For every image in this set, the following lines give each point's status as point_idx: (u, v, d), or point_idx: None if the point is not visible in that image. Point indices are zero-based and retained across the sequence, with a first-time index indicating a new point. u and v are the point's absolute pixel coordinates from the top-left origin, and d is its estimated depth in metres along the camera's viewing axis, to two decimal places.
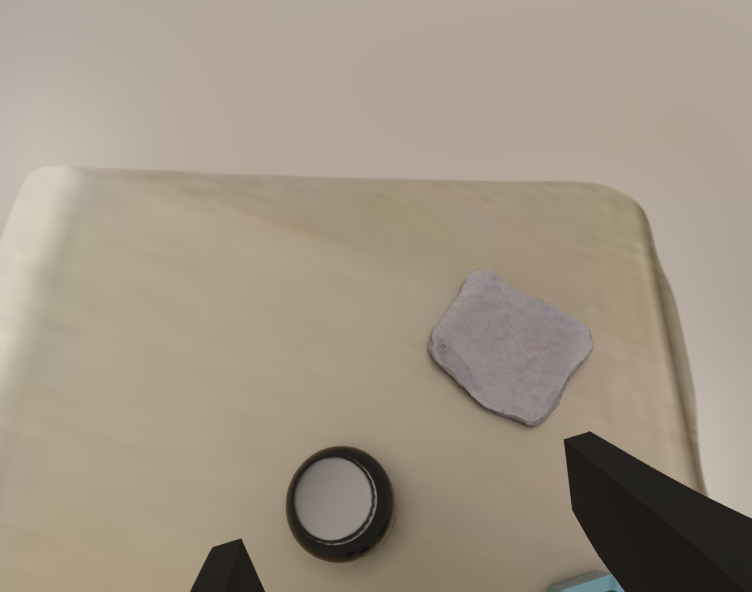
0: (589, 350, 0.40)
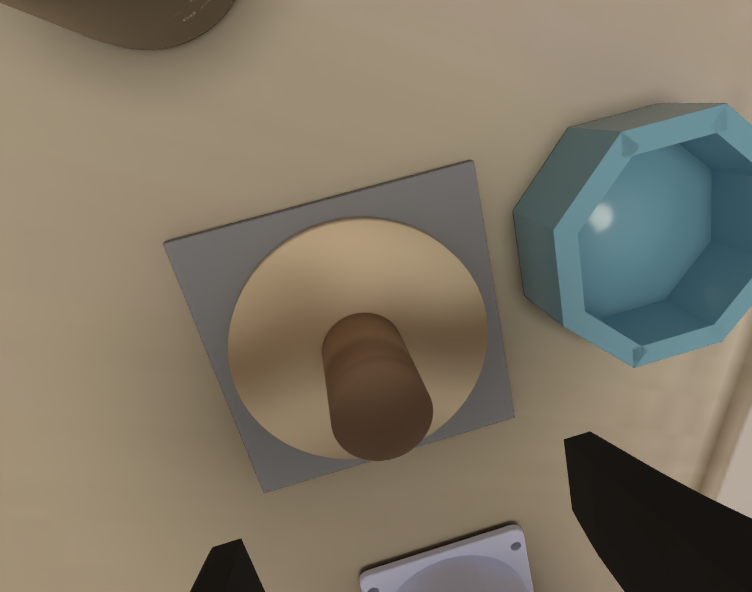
0: None
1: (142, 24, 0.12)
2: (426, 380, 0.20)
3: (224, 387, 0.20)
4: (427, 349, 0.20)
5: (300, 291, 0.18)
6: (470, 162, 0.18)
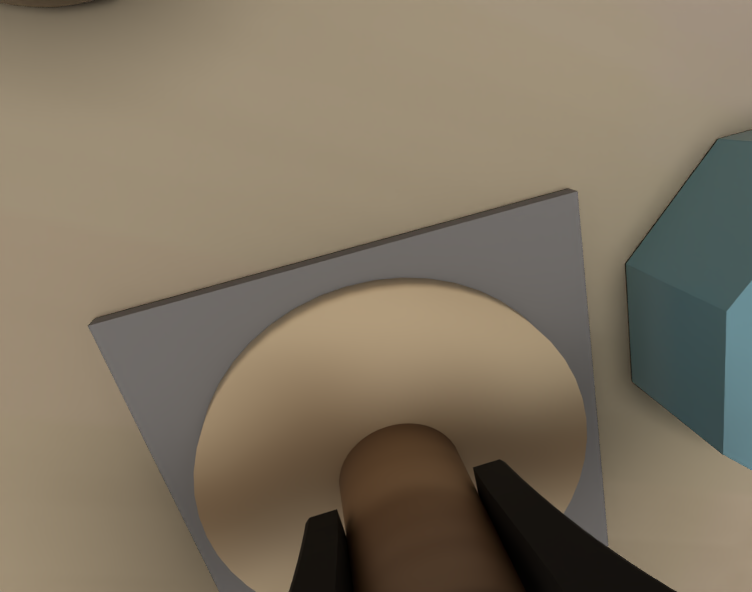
0: None
1: None
2: None
3: (192, 527, 0.13)
4: None
5: (306, 396, 0.11)
6: (572, 193, 0.12)
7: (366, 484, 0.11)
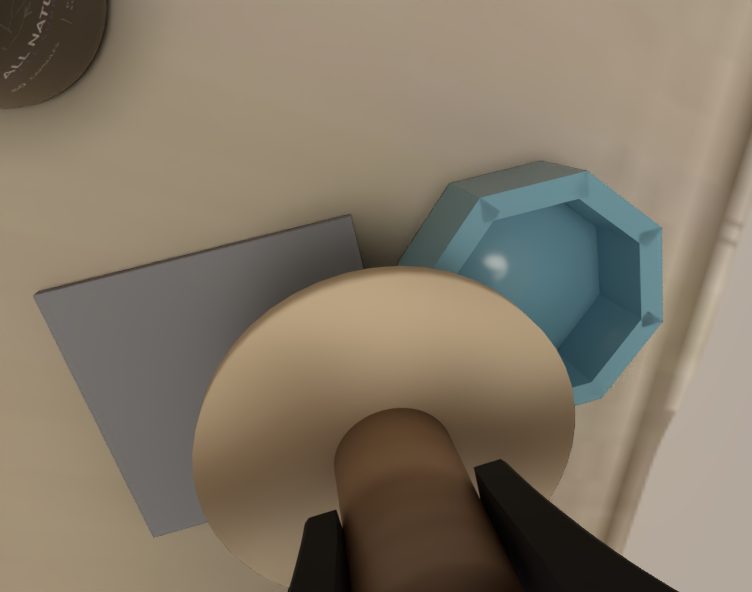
0: None
1: None
2: None
3: (105, 435, 0.20)
4: (487, 454, 0.13)
5: (304, 379, 0.12)
6: (347, 217, 0.18)
7: (361, 465, 0.11)
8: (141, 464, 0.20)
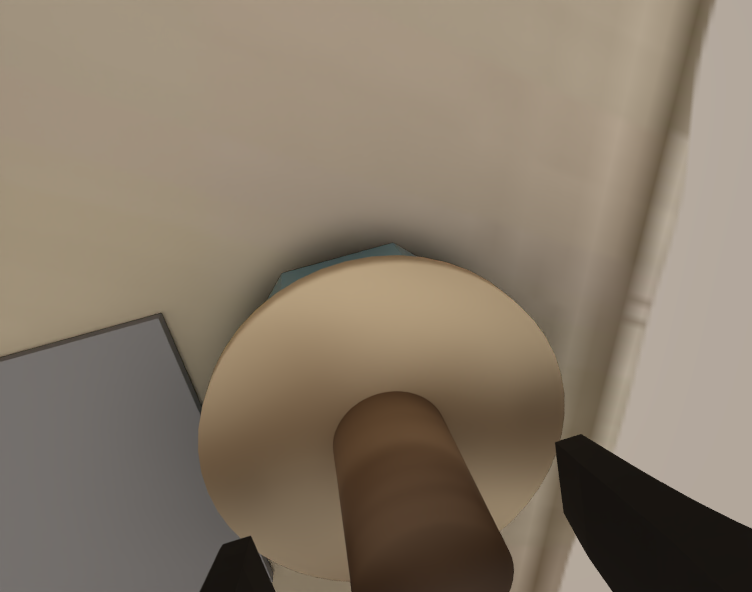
0: None
1: None
2: (475, 480, 0.14)
3: None
4: (480, 440, 0.14)
5: (306, 361, 0.12)
6: (154, 320, 0.15)
7: (359, 442, 0.12)
8: None
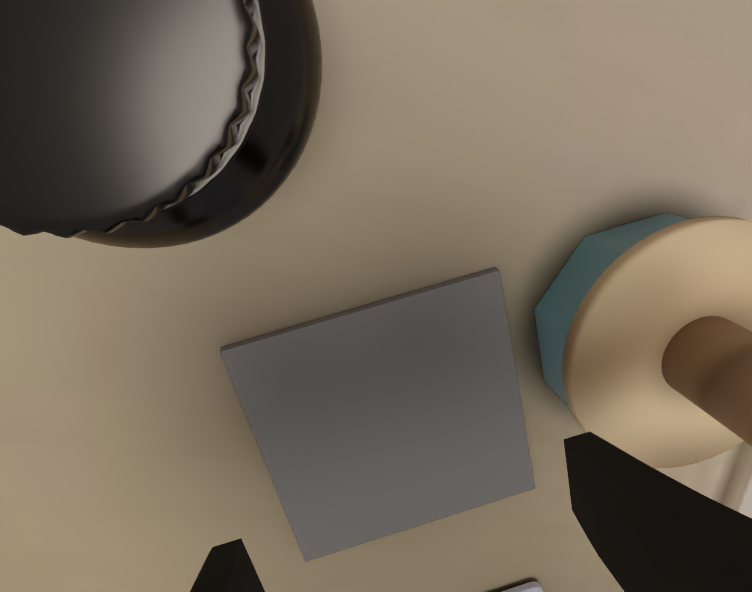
0: None
1: None
2: None
3: (271, 471, 0.21)
4: None
5: (660, 292, 0.17)
6: (496, 271, 0.20)
7: (712, 346, 0.17)
8: (300, 496, 0.22)
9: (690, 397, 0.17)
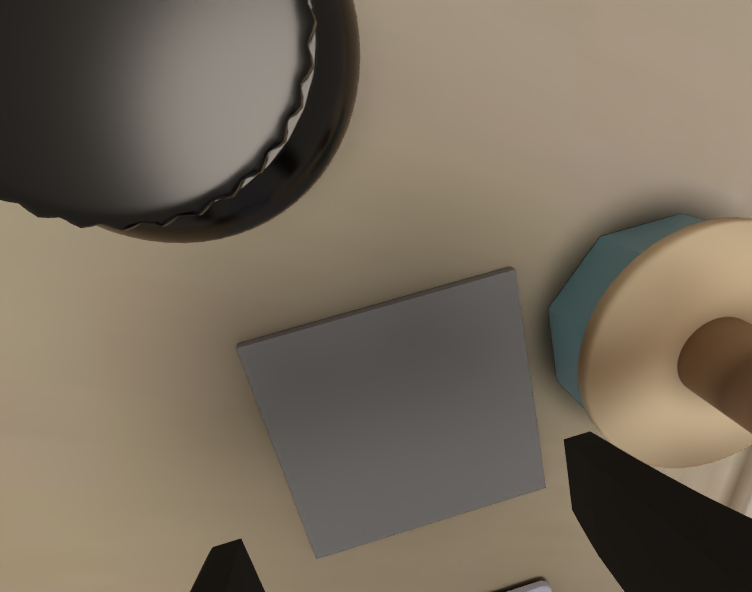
0: None
1: None
2: None
3: (284, 468, 0.21)
4: None
5: (678, 292, 0.17)
6: (512, 271, 0.20)
7: (729, 346, 0.17)
8: (313, 493, 0.22)
9: (706, 397, 0.17)
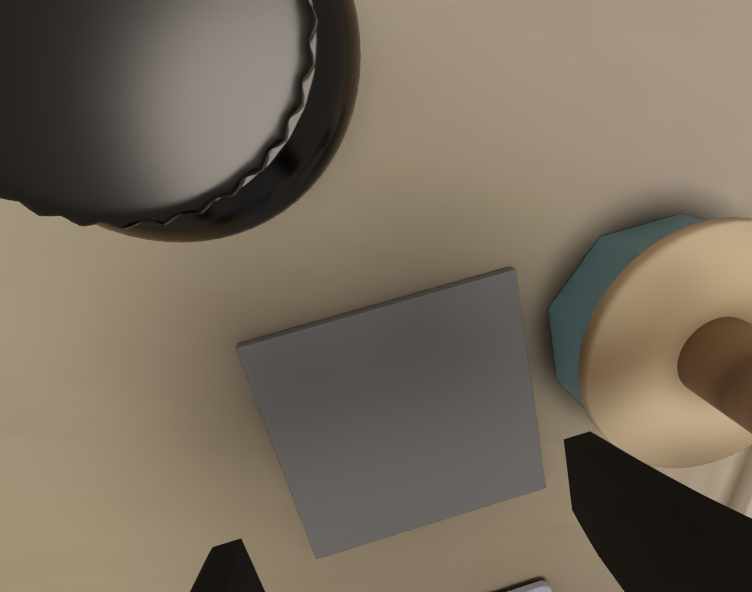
0: None
1: None
2: None
3: (284, 468, 0.21)
4: None
5: (678, 292, 0.17)
6: (512, 271, 0.20)
7: (729, 346, 0.17)
8: (313, 493, 0.22)
9: (706, 397, 0.17)
